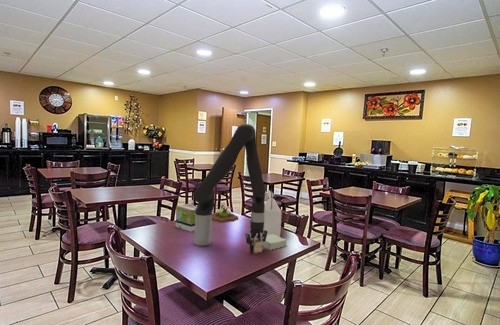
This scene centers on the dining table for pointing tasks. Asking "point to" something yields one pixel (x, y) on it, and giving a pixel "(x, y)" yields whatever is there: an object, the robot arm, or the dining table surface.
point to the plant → (224, 216)
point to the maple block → (257, 246)
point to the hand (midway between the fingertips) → (255, 250)
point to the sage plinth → (274, 242)
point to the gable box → (272, 215)
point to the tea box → (186, 217)
